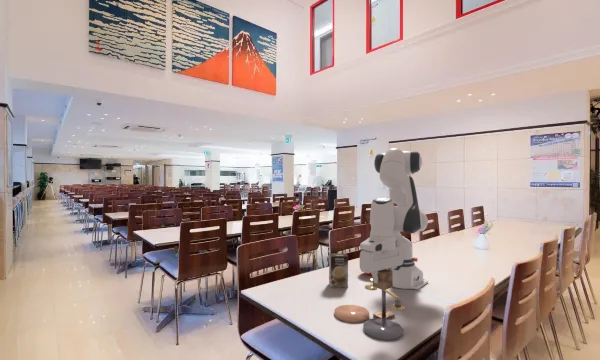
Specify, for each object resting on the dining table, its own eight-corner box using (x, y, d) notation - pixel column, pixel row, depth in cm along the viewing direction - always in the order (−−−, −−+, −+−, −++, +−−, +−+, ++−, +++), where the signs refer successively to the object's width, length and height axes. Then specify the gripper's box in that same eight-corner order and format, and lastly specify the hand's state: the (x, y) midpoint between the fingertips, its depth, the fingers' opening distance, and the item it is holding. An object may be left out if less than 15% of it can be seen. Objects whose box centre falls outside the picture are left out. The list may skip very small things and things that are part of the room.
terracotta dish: (351, 304, 134) (351, 302, 134) (376, 316, 122) (376, 313, 122) (327, 312, 126) (327, 310, 126) (351, 326, 114) (351, 322, 114)
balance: (372, 307, 131) (372, 275, 131) (409, 323, 116) (409, 287, 116) (360, 311, 127) (360, 278, 127) (397, 328, 112) (397, 291, 112)
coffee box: (330, 287, 155) (330, 256, 155) (328, 283, 162) (328, 253, 162) (348, 287, 156) (348, 256, 156) (346, 283, 162) (345, 253, 162)
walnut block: (381, 283, 114) (381, 267, 114) (392, 287, 110) (392, 270, 110) (372, 286, 112) (372, 269, 112) (383, 290, 108) (383, 273, 107)
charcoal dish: (380, 318, 121) (380, 315, 121) (411, 332, 109) (411, 329, 109) (355, 328, 113) (355, 325, 113) (385, 344, 101) (385, 341, 101)
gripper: (393, 238, 120) (393, 273, 119) (356, 244, 108) (356, 283, 108) (407, 241, 114) (407, 277, 114) (370, 247, 103) (370, 288, 103)
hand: (382, 280), depth 111 cm, fingers closed on walnut block, 5 cm apart
